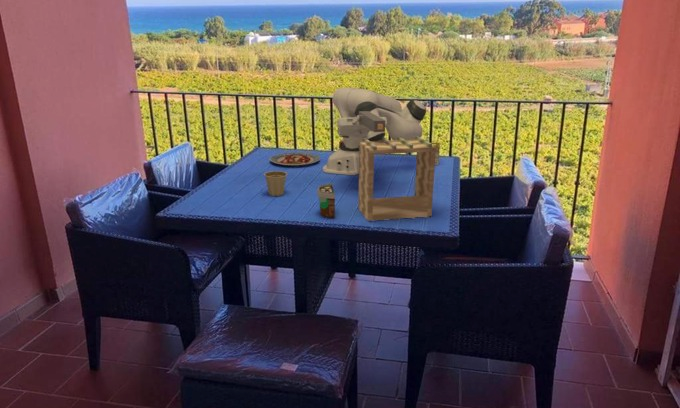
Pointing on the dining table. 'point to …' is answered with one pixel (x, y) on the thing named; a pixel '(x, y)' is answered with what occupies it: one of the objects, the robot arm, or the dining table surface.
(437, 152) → the crayon box
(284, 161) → the ceramic plate
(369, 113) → the grey brown bar
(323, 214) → the food container
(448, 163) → the dining table surface
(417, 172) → the pine shelf
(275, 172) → the flower pot
